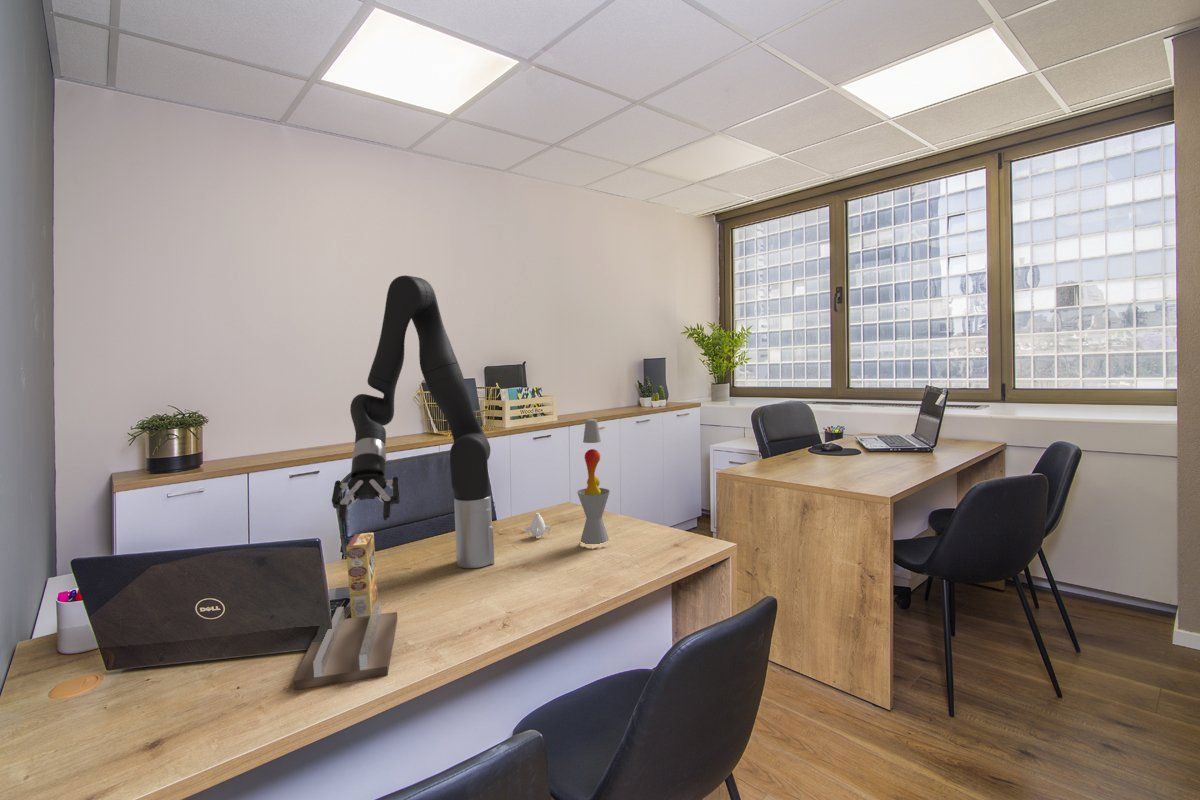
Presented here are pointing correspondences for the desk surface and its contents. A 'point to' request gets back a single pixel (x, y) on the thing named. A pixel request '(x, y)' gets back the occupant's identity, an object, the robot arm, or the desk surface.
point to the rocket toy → (537, 526)
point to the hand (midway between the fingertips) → (365, 520)
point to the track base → (349, 650)
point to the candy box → (362, 574)
